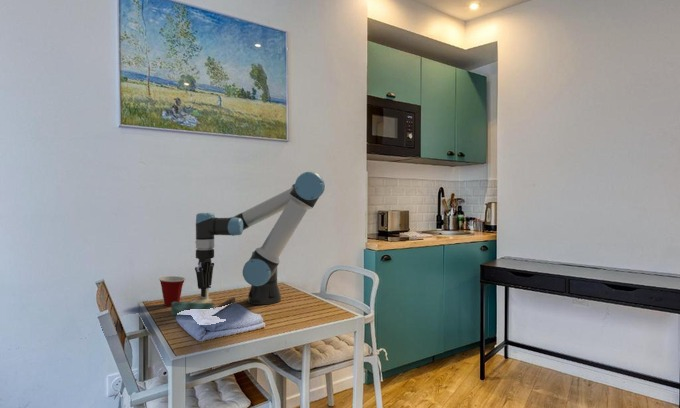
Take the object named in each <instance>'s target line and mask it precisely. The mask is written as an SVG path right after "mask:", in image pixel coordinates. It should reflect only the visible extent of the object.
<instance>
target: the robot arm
mask: <svg viewBox="0 0 680 408" xmlns="http://www.w3.org/2000/svg"><path fill="white" fill-rule="evenodd" d="M325 189H326V188H325V181H324V179H323V177H322V176H321V175H320V174H318V173H316V172H315V171H306V172H303V173H301V174H300V175H299V176H298V177H297V178H296V180H295V183H294V184H292V185H291V187H290V188H289V189H286V190H285V191H282V192H281V193H279V194H277V195H274V196H272V197H270V198H269V199H266V200H265V201H262V202H260V203H259V204H257V205H255V206H253V207H251V208H249V209H246V210H244V211H243V212H241V213H239V214H236V215H234V216H231V217H215V213H214V212H198V213H197V214H196V215H195V216H196V218H195V248H196V249H195V259H197V260H198V262H197V266H195V268H194V271H195V274H196V282H197V289H199V290H200V296H201V298H203V299H210V298H209V295H210V293H209V289H211V288H212V281H213V280H212V279H213V273H214V267H215V263H214V262H212V259H213V258H215V249H214V248H215V236H231V237H232V236H233V237H234V236H241V235H242V234H243V231H244V230H246V229H249V228H250V227H253V226H254V225H257V224H259V223H260V222H262V221H264V220H267V219H268V218H270V217H273V216H275V215H276V214H279V213H281V214H280V215H279V217H278V219H277V220H276V222H275V224H274V225H273V227H272V229H271V230H270V232H269V233H268V235H267V237H266V239H265V240H264V242H263V244H262V245H261V246H260V247H257V248H255V250H254V251H252V252H251V256H250V258H249V259H248V260H247V262H245V263H244V265H243V268H242V277H243V279H244V281H245V282H246V283H248V284H249V285H251V286H250V289H249V292H248V295H247V302H248V303H250V304H253V305H273V304H277V303H279V302H280V301H282V293H281V292H280V288H279V285H278V266H279V264H280V263H281V262H280V255H281V254H282V252H283V251H284V249H285V247H286V246H287V244H288V242H289V241H290V239H291V238H292V236H293V234H294V232H295V231H296V229H297V228H298V226H299V224H300V223H301V221H302V220H303V218H304V216H305V215H306V213H307V212H308V210H311V209H314V206H315V205H316V203H317V202H318V200H319V199H320V198H321V196H322V195H323V193H324V191H325Z"/></svg>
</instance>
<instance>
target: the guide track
mask: <svg viewBox="0 0 680 408" xmlns="http://www.w3.org/2000/svg"><path fill="white" fill-rule="evenodd" d="M196 298H201V295H199V296H197V297H195V298H194V299H196ZM194 299H192V300H194ZM192 300H189V301H179V302H172V306H171V316H177V313H179V312H181V311H184V310H190V309H210V308H216V307H222V306H225V305H228V304H231V303H233V304H234V303H236V297H234V296H232V297H230V298H229V299H227V300H225V301H224V302H222V303H220V304H218V305H217V306H216V307H215V303H214V302H212V303H195V302H190V301H192ZM231 305H232V304H231Z"/></svg>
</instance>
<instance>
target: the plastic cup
mask: <svg viewBox="0 0 680 408" xmlns="http://www.w3.org/2000/svg"><path fill="white" fill-rule="evenodd" d="M158 280H159V281H160V286H161V292H162V297H163V303H164V306H166V307H172V302H181V301H180V300H181V295H182V290H183V289H182V288H183V286H184V283H185V280H186V277H183V276H175V275H174V276H173V275H172V276H171V275H169V276H167V275H166V276H161V277H159V278H158Z"/></svg>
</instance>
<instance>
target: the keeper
mask: <svg viewBox="0 0 680 408" xmlns="http://www.w3.org/2000/svg"><path fill="white" fill-rule="evenodd" d="M195 298H196V299H195ZM195 298H194V300H193V299H192V301H191V300H189V301H190V302H195V303H213V298H208V299H203V298H197V297H195Z"/></svg>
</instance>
